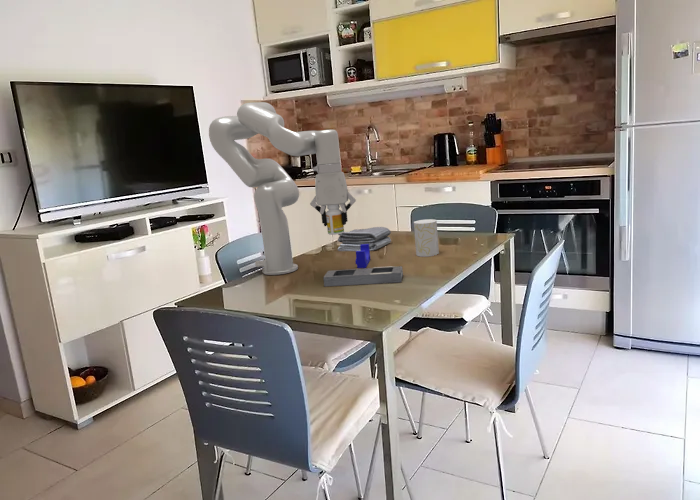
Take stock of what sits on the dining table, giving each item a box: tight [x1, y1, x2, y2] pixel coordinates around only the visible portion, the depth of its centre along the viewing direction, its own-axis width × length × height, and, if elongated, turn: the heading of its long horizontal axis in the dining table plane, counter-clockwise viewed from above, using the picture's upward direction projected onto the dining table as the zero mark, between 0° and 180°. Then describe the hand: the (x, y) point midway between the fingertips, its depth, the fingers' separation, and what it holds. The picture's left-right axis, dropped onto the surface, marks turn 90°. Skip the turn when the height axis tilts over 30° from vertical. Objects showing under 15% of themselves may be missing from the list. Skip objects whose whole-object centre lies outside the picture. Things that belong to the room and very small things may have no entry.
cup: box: [413, 218, 440, 258], centre depth 208 cm, size 8×8×12 cm
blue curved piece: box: [355, 244, 371, 269], centre depth 204 cm, size 12×4×6 cm, turn 170°
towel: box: [337, 226, 392, 252], centre depth 232 cm, size 15×18×8 cm
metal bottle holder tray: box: [322, 265, 404, 288], centre depth 181 cm, size 24×8×3 cm, turn 81°
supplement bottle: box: [326, 204, 345, 236], centre depth 188 cm, size 5×5×10 cm
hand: (335, 224), depth 188 cm, fingers closed on supplement bottle, 5 cm apart
